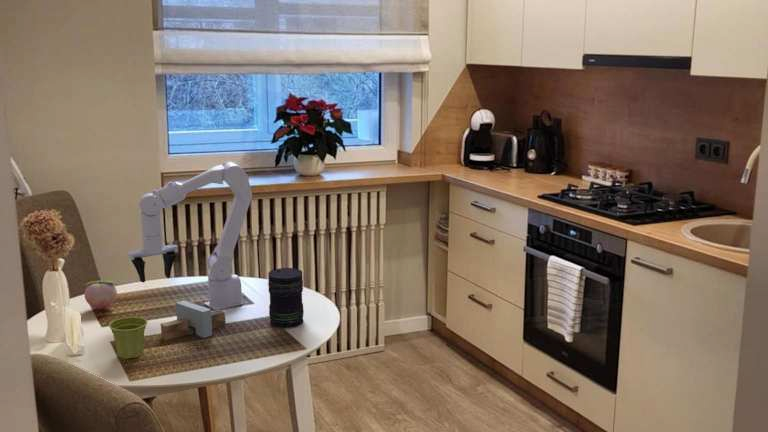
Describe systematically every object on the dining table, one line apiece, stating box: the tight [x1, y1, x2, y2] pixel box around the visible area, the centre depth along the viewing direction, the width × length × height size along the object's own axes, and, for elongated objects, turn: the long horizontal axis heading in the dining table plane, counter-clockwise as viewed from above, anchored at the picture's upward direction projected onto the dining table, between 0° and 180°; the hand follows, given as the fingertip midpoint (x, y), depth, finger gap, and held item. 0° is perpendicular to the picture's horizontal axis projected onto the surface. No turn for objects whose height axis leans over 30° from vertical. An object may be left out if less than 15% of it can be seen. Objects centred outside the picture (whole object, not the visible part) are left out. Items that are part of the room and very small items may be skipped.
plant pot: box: [108, 316, 148, 360], centre depth 198 cm, size 9×9×9 cm
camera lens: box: [267, 267, 305, 329], centre depth 221 cm, size 10×10×15 cm
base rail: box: [160, 309, 226, 341], centre depth 215 cm, size 18×3×4 cm, turn 129°
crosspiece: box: [175, 300, 213, 339], centre depth 214 cm, size 12×3×8 cm, turn 52°
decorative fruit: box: [83, 277, 118, 310], centre depth 232 cm, size 9×8×10 cm
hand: (155, 279), depth 228 cm, fingers open, 7 cm apart
